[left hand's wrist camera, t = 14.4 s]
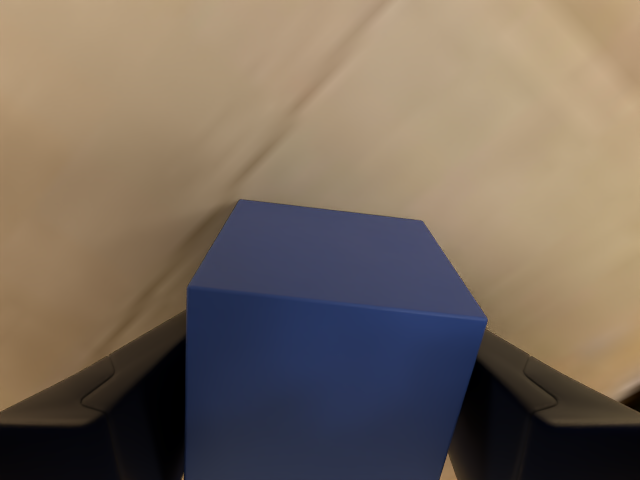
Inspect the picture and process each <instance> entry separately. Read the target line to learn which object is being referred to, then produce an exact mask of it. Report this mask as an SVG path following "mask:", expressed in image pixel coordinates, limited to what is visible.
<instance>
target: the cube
mask: <svg viewBox="0 0 640 480" xmlns="http://www.w3.org/2000/svg"><path fill="white" fill-rule="evenodd" d="M487 321H488V320H487V317H486V315H485V314H484V312H483V311H482V309H481V308H480V306H479V305H478V303H477V302H476V300H475V299H474V297H473V296H472V294H471V293H470V291H469V290H468V288H467V287H466V285H465V284H464V282H463V281H462V279H461V278H460V276H459V275H458V273H457V272H456V270H455V269H454V267H453V266H452V264H451V263H450V261H449V260H448V258H447V257H446V255H445V254H444V252H443V251H442V249H441V248H440V246H439V245H438V243H437V242H436V240H435V239H434V237H433V236H432V234H431V233H430V231H429V230H428V228H427V227H426V225H425V224H424V222H423V221H420V220H412V219H403V218H395V217H386V216H378V215H369V214H361V213H352V212H344V211H335V210H327V209H318V208H310V207H301V206H293V205H284V204H276V203H267V202H259V201H250V200H242V199H241V200H239V201H238V203H237V204H236V206H235V208H234V209H233V211H232V213H231V214H230V216H229V218H228V219H227V221H226V223H225V224H224V226H223V228H222V229H221V231H220V233H219V234H218V236H217V238H216V240H215V241H214V243H213V245H212V246H211V248H210V250H209V251H208V253H207V255H206V256H205V258H204V260H203V261H202V263H201V265H200V266H199V268H198V270H197V271H196V273H195V275H194V276H193V278H192V280H191V281H190V283H189V285H188V286H187V305H186V373H185V441H184V480H439V479H440V476H441V473H442V470H443V466H444V463H445V460H446V456H447V453H448V450H449V446H450V443H451V440H452V437H453V433H454V430H455V427H456V423H457V420H458V417H459V414H460V410H461V407H462V404H463V400H464V397H465V394H466V391H467V387H468V384H469V381H470V377H471V374H472V371H473V367H474V364H475V361H476V358H477V354H478V351H479V348H480V344H481V341H482V338H483V335H484V331H485V328H486V325H487Z"/></svg>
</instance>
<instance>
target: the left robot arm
mask: <svg viewBox="0 0 640 480" xmlns="http://www.w3.org/2000/svg"><path fill="white" fill-rule="evenodd" d="M185 373H186V310H185V311H183V312H181V313H180V314H178V315H176V316H174V317H173V318H171V319H169V320H168V321H166V322H164V323H163V324H161V325H159V326H157V327H156V328H154V329H152V330H151V331H149V332H147V333H145V334H144V335H142V336H140V337H139V338H137V339H135V340H134V341H132V342H130V343H128V344H127V345H125V346H123V347H122V348H120V349H118V350H116V351H115V352H113V353H111V354H110V355H109V357H108V356H106V357H104V358H103V359H101V360H99V361H98V362H96V363H94V364H92V365H91V366H89V367H87V368H85V369H84V370H82V371H80V372H78V373H76V374H75V375H73V376H71V377H69V378H67V379H65V380H63V381H61V382H59V383H57V384H55V385H53V386H51V387H49V388H47V389H45V390H43V391H41V392H39V393H37V394H35V395H33V396H31V397H29V398H27V399H25V400H23V401H21V402H19V403H17V404H15V405H13V406H11V407H9V408H7V409H5V410H3V411H1V412H0V480H181V479H182V476H183V473H184V441H185ZM448 454H449V457H450V460H451V463H452V466H453V468H454V471H455V474H456V477H457V480H640V413H639V412H637V411H635V410H633V409H631V408H629V407H627V406H625V405H623V404H621V403H619V402H617V401H615V400H613V399H611V398H609V397H607V396H605V395H603V394H601V393H599V392H597V391H595V390H593V389H591V388H589V387H587V386H585V385H583V384H581V383H579V382H577V381H575V380H574V379H572V378H570V377H568V376H566V375H564V374H562V373H560V372H558V371H557V370H555V369H553V368H551V367H550V366H548V365H546V364H544V363H542V362H541V361H539V360H537V359H536V358H534V357H532V356H530V355H529V354H527V353H525V352H524V351H522V350H520V349H519V348H517V347H515V346H514V345H512V344H510V343H509V342H507V341H505V340H503V339H502V338H500V337H498V336H497V335H495V334H493V333H492V332H490V331H488V330H486V329H485V331H484V335H483V338H482V341H481V344H480V348H479V351H478V354H477V358H476V361H475V364H474V367H473V371H472V374H471V377H470V381H469V384H468V387H467V391H466V394H465V397H464V400H463V404H462V407H461V410H460V414H459V417H458V420H457V423H456V427H455V430H454V433H453V437H452V440H451V443H450V446H449V450H448Z"/></svg>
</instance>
